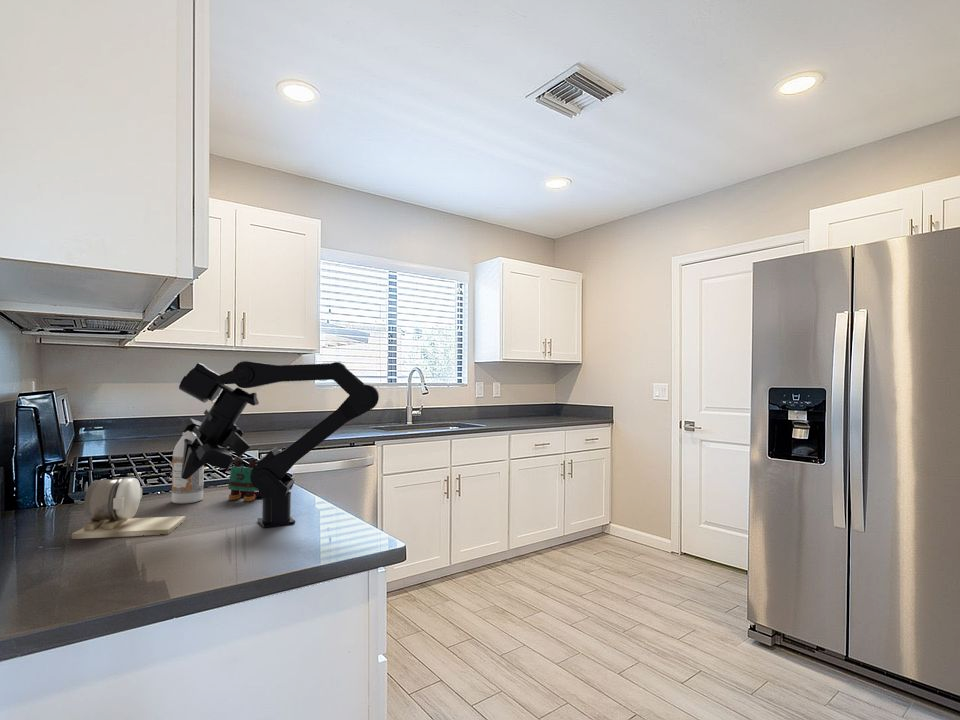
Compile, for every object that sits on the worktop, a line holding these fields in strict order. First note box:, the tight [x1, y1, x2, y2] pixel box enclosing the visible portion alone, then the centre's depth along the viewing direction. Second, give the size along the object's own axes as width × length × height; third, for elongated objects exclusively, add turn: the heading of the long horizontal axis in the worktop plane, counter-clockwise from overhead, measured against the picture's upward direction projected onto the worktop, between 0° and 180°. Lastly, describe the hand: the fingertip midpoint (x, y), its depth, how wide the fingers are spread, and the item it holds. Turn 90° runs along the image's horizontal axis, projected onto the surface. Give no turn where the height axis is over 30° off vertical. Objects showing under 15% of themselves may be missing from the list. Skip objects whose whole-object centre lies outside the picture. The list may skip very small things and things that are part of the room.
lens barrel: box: [83, 477, 125, 522], centre depth 108 cm, size 5×8×8 cm, turn 12°
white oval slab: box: [113, 477, 143, 519], centre depth 109 cm, size 2×10×8 cm, turn 12°
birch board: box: [71, 515, 186, 540], centre depth 109 cm, size 17×10×2 cm, turn 102°
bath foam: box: [171, 431, 205, 505], centre depth 134 cm, size 7×7×20 cm
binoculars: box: [228, 456, 261, 502], centre depth 138 cm, size 9×11×10 cm
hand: (183, 478), depth 112 cm, fingers closed
